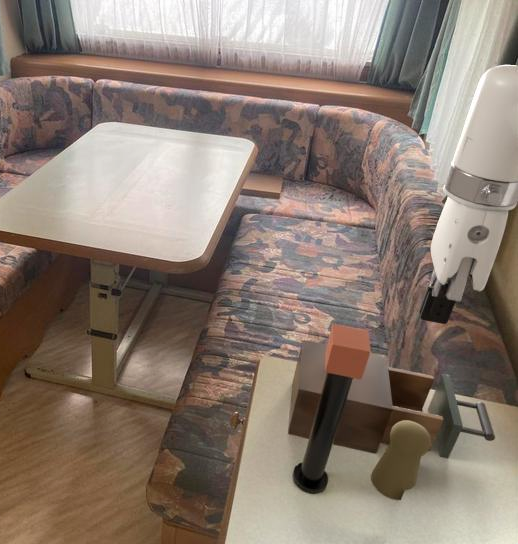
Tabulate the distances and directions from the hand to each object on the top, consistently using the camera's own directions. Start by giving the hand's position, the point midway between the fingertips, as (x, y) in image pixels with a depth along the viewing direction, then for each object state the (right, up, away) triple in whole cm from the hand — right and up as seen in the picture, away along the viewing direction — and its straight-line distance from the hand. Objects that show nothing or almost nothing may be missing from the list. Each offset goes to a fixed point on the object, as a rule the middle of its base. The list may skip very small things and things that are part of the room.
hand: (432, 318), depth 73 cm
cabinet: (-6, -18, +22) cm, 29 cm away
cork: (-1, -25, +11) cm, 28 cm away
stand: (-13, -24, +11) cm, 30 cm away
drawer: (+7, -19, +19) cm, 28 cm away
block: (-12, -6, -1) cm, 13 cm away
